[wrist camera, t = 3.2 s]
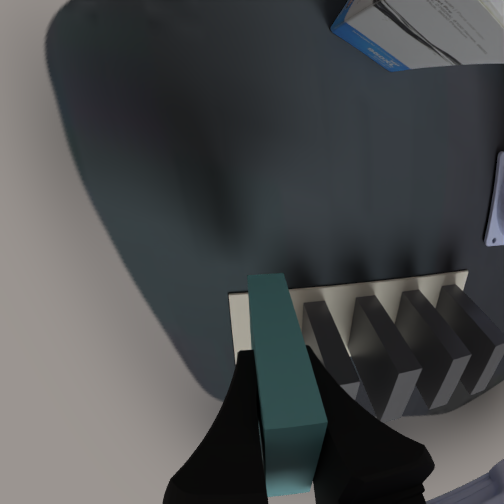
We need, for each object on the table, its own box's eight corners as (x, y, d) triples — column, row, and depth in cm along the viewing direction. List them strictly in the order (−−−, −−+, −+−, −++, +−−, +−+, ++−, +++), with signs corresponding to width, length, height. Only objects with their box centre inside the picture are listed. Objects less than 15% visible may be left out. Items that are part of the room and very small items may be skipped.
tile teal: (283, 272, 14) (327, 421, 7) (282, 355, 17) (309, 491, 9) (247, 275, 14) (264, 429, 7) (252, 358, 16) (266, 496, 9)
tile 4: (418, 289, 23) (471, 354, 16) (405, 337, 25) (446, 403, 18) (402, 291, 23) (453, 359, 16) (390, 340, 25) (428, 409, 18)
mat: (467, 270, 23) (468, 271, 23) (446, 335, 26) (447, 336, 26) (228, 293, 22) (228, 295, 22) (236, 366, 25) (236, 368, 25)
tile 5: (455, 283, 23) (509, 341, 16) (441, 330, 26) (484, 389, 18) (441, 286, 23) (495, 346, 16) (427, 333, 25) (470, 395, 18)
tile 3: (375, 294, 23) (422, 368, 16) (365, 344, 25) (400, 418, 18) (355, 297, 23) (398, 373, 16) (347, 347, 25) (379, 423, 18)
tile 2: (324, 300, 23) (359, 381, 16) (319, 351, 25) (345, 430, 18) (303, 302, 23) (331, 386, 16) (300, 353, 25) (321, 435, 18)
